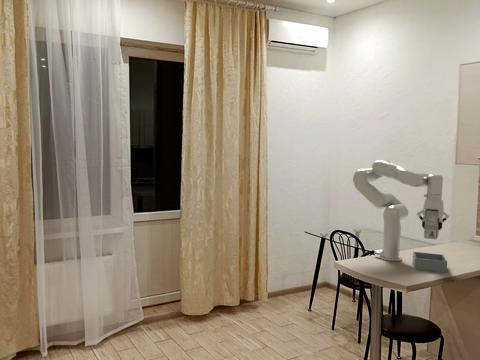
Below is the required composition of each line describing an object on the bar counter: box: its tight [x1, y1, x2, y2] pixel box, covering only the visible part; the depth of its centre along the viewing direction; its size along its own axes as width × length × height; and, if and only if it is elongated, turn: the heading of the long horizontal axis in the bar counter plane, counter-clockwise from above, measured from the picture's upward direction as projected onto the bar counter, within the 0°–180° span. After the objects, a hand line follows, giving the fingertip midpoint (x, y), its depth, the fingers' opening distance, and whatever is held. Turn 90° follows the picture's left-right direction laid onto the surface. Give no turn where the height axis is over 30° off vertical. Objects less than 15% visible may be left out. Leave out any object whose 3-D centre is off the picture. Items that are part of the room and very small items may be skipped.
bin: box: [412, 251, 448, 274], centre depth 245 cm, size 16×16×6 cm
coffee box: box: [423, 209, 440, 240], centre depth 243 cm, size 9×6×16 cm
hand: (431, 228), depth 243 cm, fingers closed on coffee box, 7 cm apart
